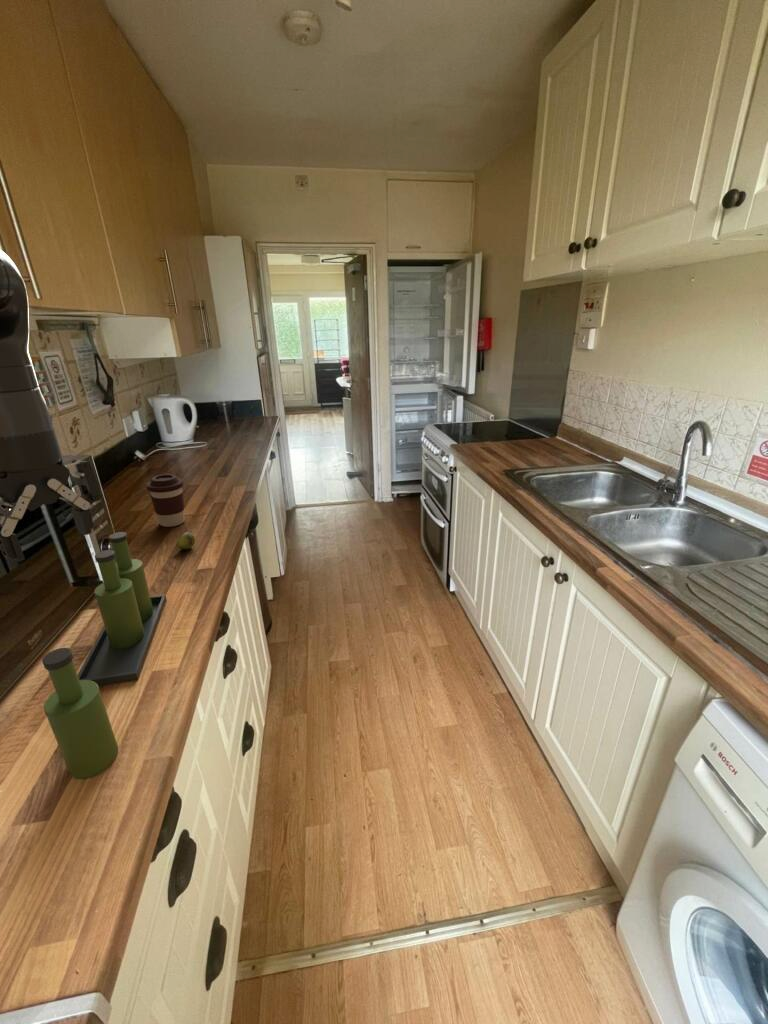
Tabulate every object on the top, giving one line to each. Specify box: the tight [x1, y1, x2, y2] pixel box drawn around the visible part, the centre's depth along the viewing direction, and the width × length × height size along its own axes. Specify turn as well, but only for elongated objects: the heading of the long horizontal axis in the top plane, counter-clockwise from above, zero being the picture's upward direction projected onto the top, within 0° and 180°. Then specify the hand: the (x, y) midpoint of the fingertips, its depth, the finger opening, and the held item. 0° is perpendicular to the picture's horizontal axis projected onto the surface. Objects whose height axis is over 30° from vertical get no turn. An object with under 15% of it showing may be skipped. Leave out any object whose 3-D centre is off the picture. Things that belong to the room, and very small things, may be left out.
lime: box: [176, 531, 196, 551], centre depth 118 cm, size 4×5×5 cm
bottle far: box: [108, 531, 154, 622], centre depth 87 cm, size 6×6×19 cm
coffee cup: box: [146, 473, 186, 528], centre depth 131 cm, size 10×10×15 cm
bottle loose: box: [41, 647, 119, 780], centre depth 58 cm, size 6×6×19 cm
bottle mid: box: [94, 549, 145, 649], centre depth 80 cm, size 6×6×19 cm
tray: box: [77, 594, 168, 687], centre depth 84 cm, size 24×10×2 cm, turn 14°
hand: (53, 545), depth 58 cm, fingers open, 8 cm apart
